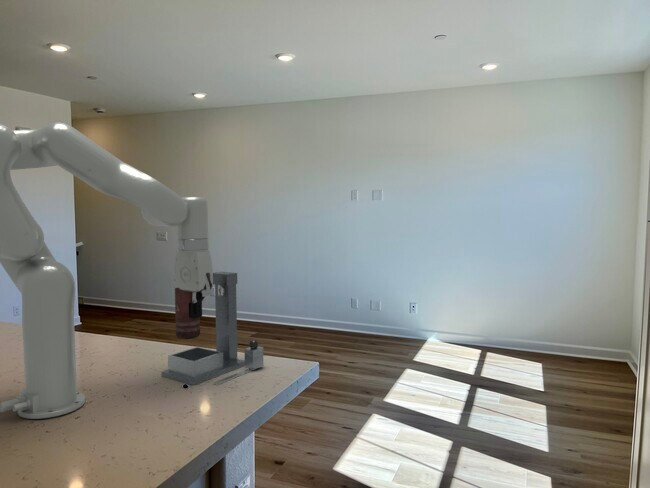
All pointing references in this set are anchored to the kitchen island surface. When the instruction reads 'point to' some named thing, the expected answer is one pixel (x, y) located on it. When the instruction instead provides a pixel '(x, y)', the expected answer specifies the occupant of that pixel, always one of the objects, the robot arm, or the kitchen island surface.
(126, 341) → the kitchen island surface
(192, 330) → the red can
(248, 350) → the lever
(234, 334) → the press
